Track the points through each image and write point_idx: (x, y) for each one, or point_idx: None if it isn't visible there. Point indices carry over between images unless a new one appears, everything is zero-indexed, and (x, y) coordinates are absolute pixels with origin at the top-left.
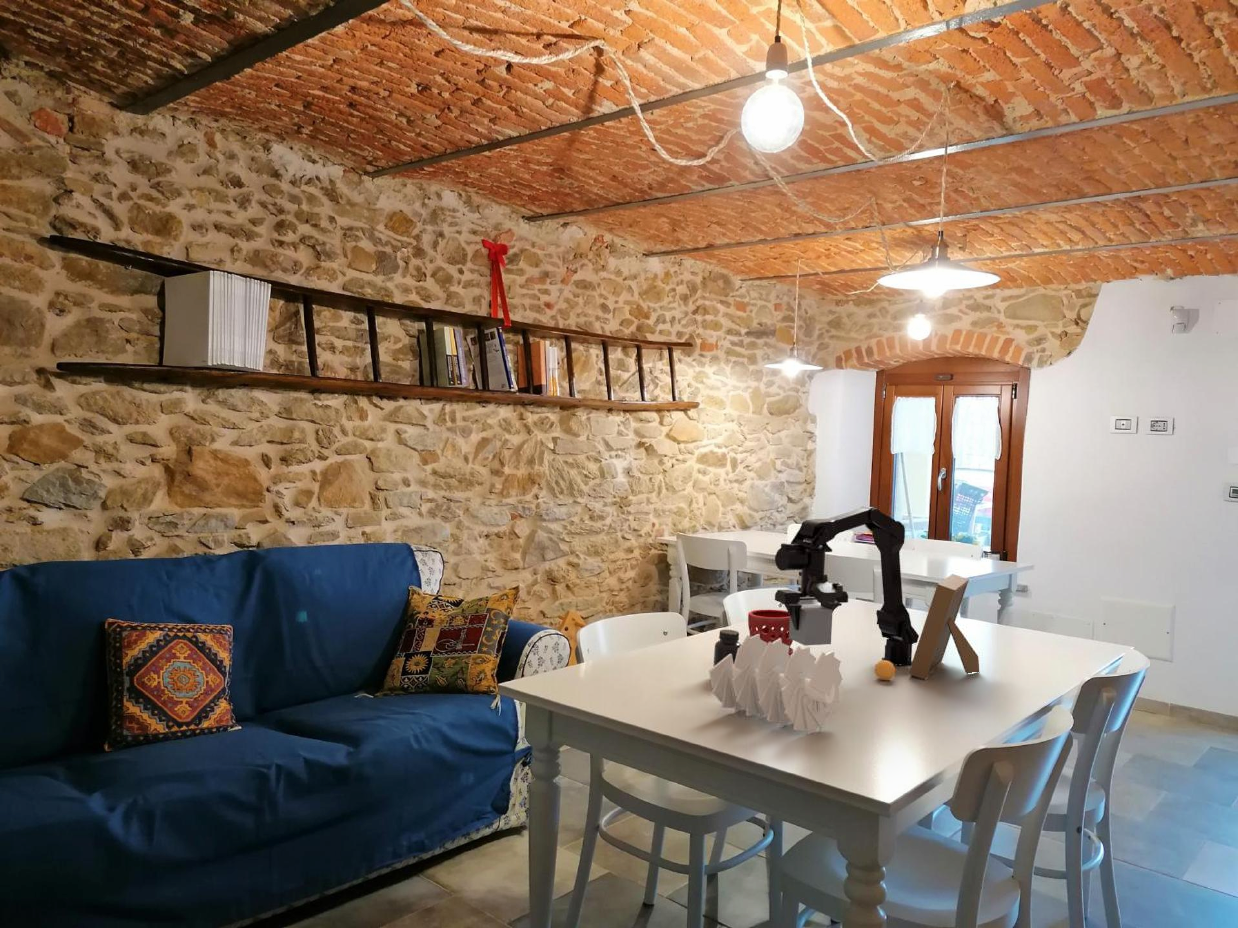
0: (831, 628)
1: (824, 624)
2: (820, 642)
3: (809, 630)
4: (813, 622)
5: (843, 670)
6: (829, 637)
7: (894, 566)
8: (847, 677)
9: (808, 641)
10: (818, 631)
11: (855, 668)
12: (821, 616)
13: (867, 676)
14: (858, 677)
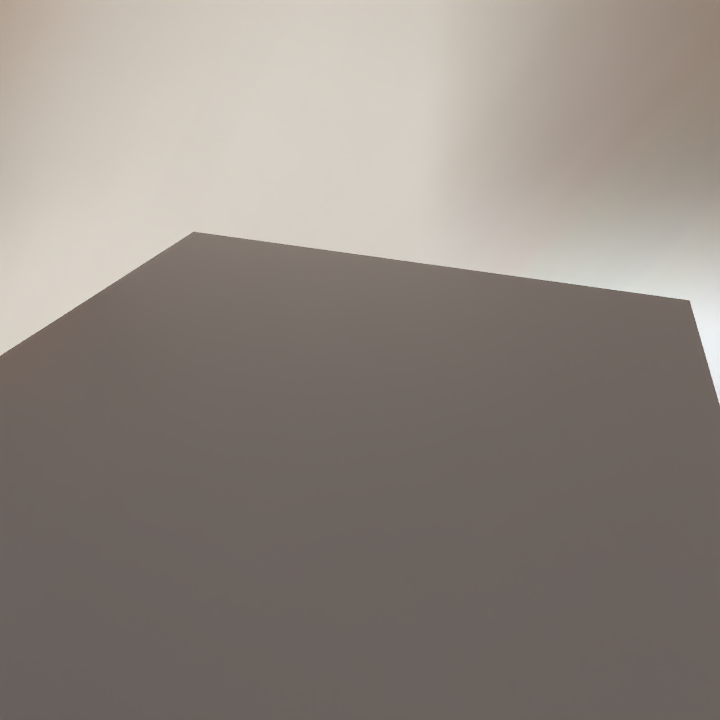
0: (18, 349)
1: (116, 444)
2: (362, 267)
3: (603, 451)
4: (449, 592)
5: (155, 235)
6: (163, 277)
7: None
8: (211, 42)
9: (615, 317)
10: (346, 379)
11: (53, 248)
12: (45, 682)
13: (34, 21)
14: (117, 13)
